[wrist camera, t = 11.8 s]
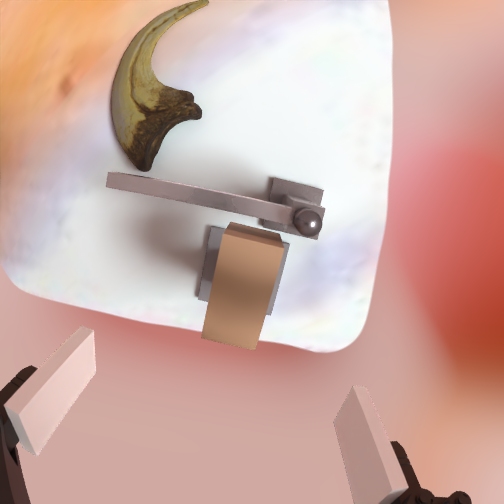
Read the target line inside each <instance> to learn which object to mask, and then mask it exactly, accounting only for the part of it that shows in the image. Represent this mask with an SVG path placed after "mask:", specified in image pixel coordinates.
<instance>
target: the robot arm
mask: <svg viewBox="0 0 504 504" xmlns="http://www.w3.org/2000/svg"><path fill="white" fill-rule="evenodd" d="M95 373H96V363H95V347H94V330H92V329H89V328H86V327H84V326H80V327H79V328H78V329H77V330H76V331H75V332H74V333H73V334H72V335H71V336H70V337H69V338H68V339H67V340H66V341H65V342H64V343H63V344H62V345H61V346H60V347H59V348H58V349H57V350H56V351H55V352H54V353H53V354H52V355H51V356H50V357H49V358H48V359H47V360H46V361H45V362H44V363H43V364H42V365H41V366H40V367H39V368H36V367H33V366H32V365H31V366H28V367H26V368H24V369H22V370H21V371H20V372H19V373H18V374H17V375H16V377H14V378H13V379H12V380H11V382H9V383H8V384H7V385H6V386H5V387H4V388H3V389H2V390H1V391H0V504H31V503H30V500H29V496H28V493H27V489H26V486H25V482H24V478H23V474H22V469H21V465H20V460H19V455H18V450H17V448H16V444H17V443H18V442H19V441H20V443H21V445H22V447H23V448H24V449H25V450H27V451H28V452H30V453H32V454H33V455H35V456H38V455H39V453H40V452H41V450H42V449H43V447H44V446H45V444H46V443H47V441H48V439H49V438H50V437H51V435H52V434H53V432H54V431H55V429H56V428H57V426H58V425H59V423H60V422H61V420H62V419H63V418H64V416H65V415H66V413H67V412H68V410H69V409H70V408H71V406H72V405H73V403H74V402H75V401H76V399H77V398H78V396H79V395H80V393H81V392H82V391H83V389H84V388H85V387H86V385H87V384H88V382H89V381H90V380H91V378H92V377H93V376H94V374H95ZM333 423H334V427H335V430H336V434H337V437H338V441H339V445H340V449H341V453H342V457H343V461H344V465H345V469H346V473H347V477H348V481H349V485H350V489H351V493H352V497H353V501H354V504H472V503H471V499H470V497H469V496H468V495H467V494H466V493H465V492H462V491H456V492H454V493H453V494H452V495H450V496H449V497H448V498H445V497H434V495H433V494H432V493H431V492H430V491H428V490H427V489H423V488H421V487H420V484H419V482H418V480H417V477H416V475H415V473H414V470H413V468H412V466H411V465H410V461H409V459H408V458H407V454H406V453H405V450H404V448H403V447H402V446H401V445H400V444H399V443H398V442H397V441H394V442H393V441H392V442H390V441H389V438H388V436H387V433H386V431H385V429H384V427H383V424H382V422H381V420H380V417H379V416H378V413H377V411H376V408H375V406H374V404H373V401H372V399H371V397H370V395H369V393H368V390H367V388H366V387H365V386H352V388H351V390H350V392H349V394H348V396H347V398H346V400H345V402H344V403H343V405H342V407H341V409H340V411H339V413H338V415H337V416H336V418H335V420H334V422H333Z"/></svg>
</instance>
